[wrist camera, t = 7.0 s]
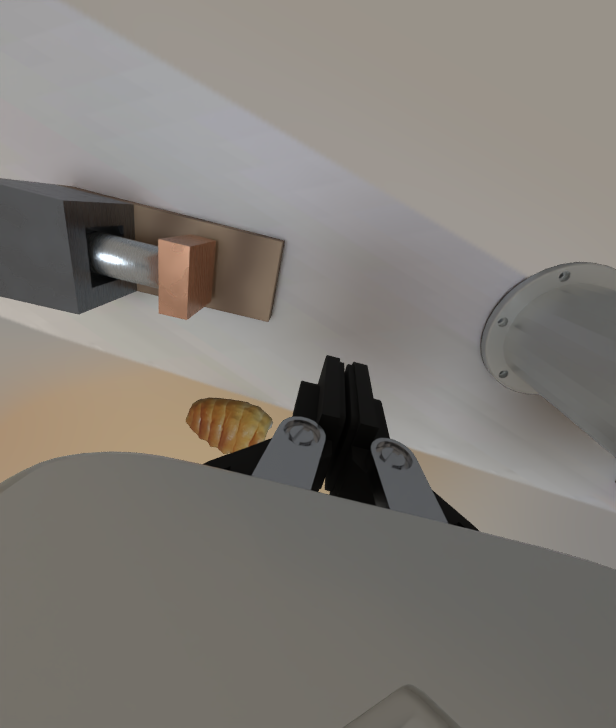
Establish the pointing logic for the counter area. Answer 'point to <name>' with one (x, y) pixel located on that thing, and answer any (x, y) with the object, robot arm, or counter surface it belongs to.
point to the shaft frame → (124, 219)
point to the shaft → (159, 267)
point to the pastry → (228, 423)
